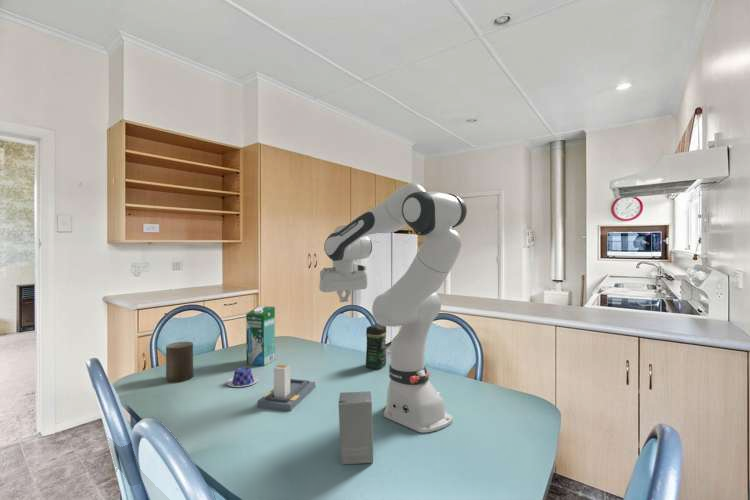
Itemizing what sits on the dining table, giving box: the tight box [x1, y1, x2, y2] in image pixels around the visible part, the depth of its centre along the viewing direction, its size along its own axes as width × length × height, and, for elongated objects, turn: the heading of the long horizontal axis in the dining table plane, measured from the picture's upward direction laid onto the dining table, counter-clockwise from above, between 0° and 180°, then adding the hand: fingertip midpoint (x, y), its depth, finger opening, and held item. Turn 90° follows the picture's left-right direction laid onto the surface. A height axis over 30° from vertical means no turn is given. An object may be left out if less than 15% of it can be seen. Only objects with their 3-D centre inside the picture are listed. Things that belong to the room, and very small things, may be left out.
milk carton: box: [245, 305, 276, 367], centre depth 165 cm, size 9×9×25 cm
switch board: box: [256, 378, 316, 412], centre depth 127 cm, size 20×12×3 cm, turn 166°
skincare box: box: [338, 390, 374, 466], centre depth 90 cm, size 8×7×16 cm
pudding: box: [226, 366, 260, 388], centre depth 141 cm, size 12×12×5 cm
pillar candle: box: [165, 341, 194, 383], centre depth 145 cm, size 10×10×15 cm
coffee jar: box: [365, 322, 387, 370], centre depth 159 cm, size 10×8×19 cm
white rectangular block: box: [273, 363, 291, 398], centre depth 123 cm, size 4×4×10 cm
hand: (344, 301), depth 142 cm, fingers closed
